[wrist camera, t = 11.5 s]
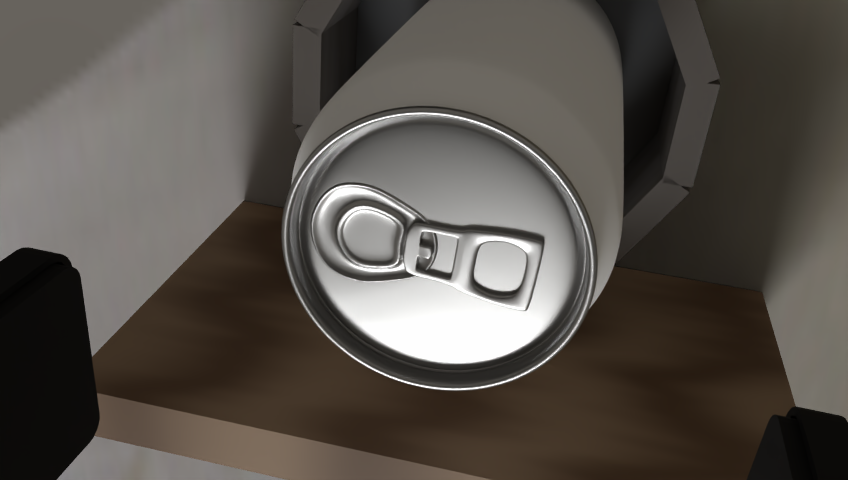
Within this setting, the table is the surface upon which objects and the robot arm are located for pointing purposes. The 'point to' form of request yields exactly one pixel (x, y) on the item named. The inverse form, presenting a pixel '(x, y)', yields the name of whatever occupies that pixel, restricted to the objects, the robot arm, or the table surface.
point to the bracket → (474, 409)
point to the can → (464, 193)
